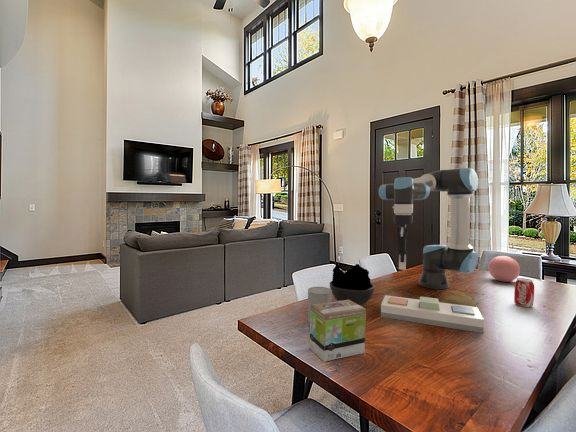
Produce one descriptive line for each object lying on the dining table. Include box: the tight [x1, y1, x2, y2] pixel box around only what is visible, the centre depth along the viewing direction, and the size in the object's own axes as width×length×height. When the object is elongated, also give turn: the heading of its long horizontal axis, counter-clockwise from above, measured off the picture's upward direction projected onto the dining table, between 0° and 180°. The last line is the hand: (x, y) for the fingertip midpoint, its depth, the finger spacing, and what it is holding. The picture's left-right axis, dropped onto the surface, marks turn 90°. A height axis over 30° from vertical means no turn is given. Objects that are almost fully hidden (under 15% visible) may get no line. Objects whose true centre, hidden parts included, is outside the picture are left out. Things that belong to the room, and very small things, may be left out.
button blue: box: [452, 305, 474, 315], centre depth 118 cm, size 7×7×3 cm
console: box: [380, 294, 485, 334], centre depth 123 cm, size 14×36×5 cm, turn 65°
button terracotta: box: [388, 297, 407, 306], centre depth 128 cm, size 7×7×3 cm
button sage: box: [419, 296, 440, 310], centre depth 123 cm, size 7×7×3 cm
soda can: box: [513, 277, 535, 308], centre depth 138 cm, size 7×7×12 cm
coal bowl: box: [329, 263, 376, 306], centre depth 137 cm, size 20×20×19 cm
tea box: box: [309, 300, 367, 363], centre depth 96 cm, size 15×10×15 cm
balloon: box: [487, 255, 521, 283], centre depth 181 cm, size 15×20×15 cm
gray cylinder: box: [307, 286, 333, 323], centre depth 120 cm, size 10×10×12 cm
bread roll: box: [439, 289, 477, 307], centre depth 134 cm, size 10×15×8 cm, turn 42°
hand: (402, 269), depth 129 cm, fingers closed
